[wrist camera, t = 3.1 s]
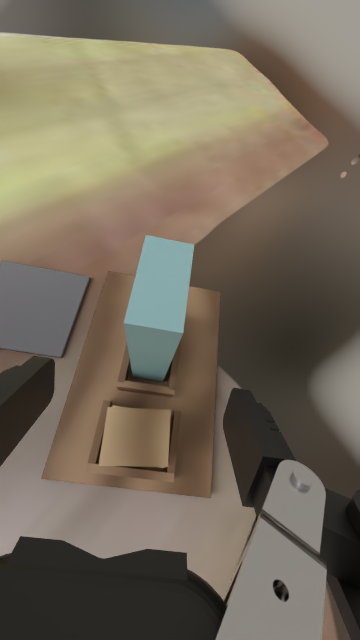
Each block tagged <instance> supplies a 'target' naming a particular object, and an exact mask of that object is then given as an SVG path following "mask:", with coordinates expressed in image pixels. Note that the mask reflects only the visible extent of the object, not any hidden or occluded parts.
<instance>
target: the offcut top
mask: <svg viewBox="0 0 360 640" xmlns="http://www.w3.org/2000/svg"><path fill="white" fill-rule="evenodd" d="M170 414H171V410H162V409H141V408H120V407H108V409H107V415H106V421H105V428H104V434H103V440H102V447H101V453H100V459H99V465H98V466H139V467H168V457H169V436H170Z"/></svg>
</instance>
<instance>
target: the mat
mask: <svg viewBox="0 0 360 640" xmlns="http://www.w3.org/2000/svg"><path fill="white" fill-rule="evenodd" d="M89 281H90V277H89V276H83V275H78V274H72V273H67V272H61V271H56V270H50V269H45V268H40V267H34V266H29V265H23V264H18V263H12V262H7V261H2V262H1V264H0V349H7V350H13V351H20V352H26V353H32V354H39V355H45V356H52V357H58V358H62V356H63V353H64V350H65V348H66V345H67V342H68V339H69V336H70V334H71V331H72V328H73V325H74V323H75V320H76V317H77V314H78V311H79V309H80V306H81V303H82V300H83V298H84V295H85V292H86V289H87V286H88V284H89Z"/></svg>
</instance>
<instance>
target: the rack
mask: <svg viewBox="0 0 360 640" xmlns="http://www.w3.org/2000/svg"><path fill="white" fill-rule="evenodd" d="M134 280H135V276H132V275H126V274H121V273H116V272H110V271H108V273H107V276H106V279H105V283H104V286H103V289H102V292H101V295H100V298H99V301H98V304H97V307H96V310H95V314H94V317H93V320H92V323H91V326H90V329H89V332H88V335H87V338H86V341H85V344H84V348H83V351H82V354H81V357H80V360H79V363H78V366H77V369H76V372H75V375H74V379H73V382H72V385H71V388H70V391H69V394H68V397H67V400H66V403H65V406H64V409H63V413H62V416H61V419H60V422H59V425H58V428H57V431H56V434H55V437H54V440H53V444H52V447H51V450H50V453H49V456H48V459H47V462H46V465H45V468H44V471H43V474H42V478H41V479H47V480H56V481H65V482H74V483H83V484H91V485H100V486H109V487H118V488H127V489H135V490H144V491H153V492H162V493H171V494H179V495H188V496H197V497H206V498H211V478H212V457H213V437H214V417H215V396H216V376H217V356H218V335H219V315H220V295H221V292H217V291H212V290H207V289H201V288H196V287H191V286H189V290H188V298H187V306H186V314H185V323H184V331H183V335H182V337H181V340H180V342H179V344H178V347H177V349H176V351H175V354H174V356H173V359H172V361H171V363H170V366H169V368H168V370H167V373H166V375H165V378H164V380H163V382H160V381H154V380H147V379H140V378H134V377H133V375H132V369H131V363H130V357H129V352H128V346H127V340H126V334H125V328H124V320H125V316H126V312H127V308H128V304H129V300H130V296H131V292H132V288H133V284H134ZM113 406H120V407H127V408H141V409H162V410H171V417H170V436H169V457H168V467H164V468H162V467H139V466H98V465H99V459H100V453H101V447H102V440H103V434H104V428H105V421H106V415H107V409H108V407H113Z"/></svg>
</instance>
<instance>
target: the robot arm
mask: <svg viewBox="0 0 360 640" xmlns="http://www.w3.org/2000/svg"><path fill="white" fill-rule="evenodd" d="M54 377H55V362H54V360H53V359H50V358H44V357H38V356H33V357H32V358H30V359H29V360H28V361H27V362H25V363H24V364H23V365H22V366H15V367H13V368H10V369H8V370H5V371H3V372H2V373H1V374H0V466H1V465H2V464H3V462H4V461H5V460H6V458H7V457H8V456H9V455H10V453H11V452H12V451H13V449H14V448H15V447H16V446H17V444H18V443H19V442H20V440H21V439H22V438H23V437H24V435H25V434H26V433H27V431H28V430H29V429H30V428H31V426H32V425H33V424H34V422H35V421H36V420H37V419H38V417H39V416H40V415H41V413H42V412H43V411H44V410H45V408H46V407H47V406H48V404H49V403H50V401H51V399H52V397H53V393H54ZM223 429H224V433H225V437H226V441H227V445H228V449H229V453H230V457H231V461H232V465H233V469H234V473H235V477H236V481H237V485H238V489H239V493H240V497H241V501H242V505H243V506H245V507H254V509H255V512H256V517H255V520H254V522H253V525H252V527H251V530H250V532H249V535H248V538H247V540H246V543H245V545H244V548H243V550H242V553H241V556H240V558H239V561H238V563H237V566H236V568H235V571H234V574H233V576H232V579H231V581H230V583H229V586H228V588H227V591H226V593H225V595H224V598H223V600H222V598H221V597H220V596H219V594H218V593H217V592H216V591H215V590H214V589H213V588H212V587H211V586H210V585H209V584H208V583H207V582H206V581H205V580H204V579H202V578H201V577H200V576H198V575H197V574H195V573H194V572H192V571H190V570H188V569H187V553H182V552H172V551H162V550H152V549H145V550H141V551H137V552H132V553H128V554H124V555H119V556H115V557H111V558H106V559H102V558H98V557H96V556H94V555H92V554H90V553H88V552H86V551H84V550H82V549H79V548H77V547H75V546H73V545H71V544H69V543H67V542H65V541H62V540H52V539H42V538H32V537H22V536H20V538H19V540H18V542H17V544H16V546H15V548H14V549H13V551H12V553H10V554H6V555H3V556H0V640H322V627H323V614H324V601H325V588H326V579H327V581H328V583H329V586H330V589H331V591H332V594H333V596H334V599H335V601H336V604H337V606H338V609H339V611H340V613H341V616H342V618H343V621H344V623H345V626H346V628H347V631H348V633H349V636H350V638H351V640H360V490H357V491H356V492H355V493H354V495H353V496H352V498H351V499H349V498H347V497H344V496H342V495H340V494H337V493H335V492H333V491H330V490H328V489H326V488H324V486H323V484H322V482H321V481H320V479H319V478H318V477H317V476H316V475H315V474H314V473H313V472H312V471H311V470H310V469H309V468H307V467H306V466H304V465H303V464H301V463H299V462H297V461H296V460H295V458H294V456H293V454H292V452H291V450H290V449H289V447H288V445H287V443H286V441H285V439H284V438H283V436H282V434H281V432H279V428H278V426H277V425H276V424H275V421H274V419H273V417H272V416H271V414H270V412H269V411H268V410H267V409H266V408H265V407H264V406H263V405H262V404H261V403H257V402H256V400H255V398H254V396H253V394H252V392H251V391H250V390H244V389H238V388H233V389H232V391H231V394H230V397H229V400H228V404H227V407H226V410H225V413H224V418H223Z"/></svg>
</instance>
